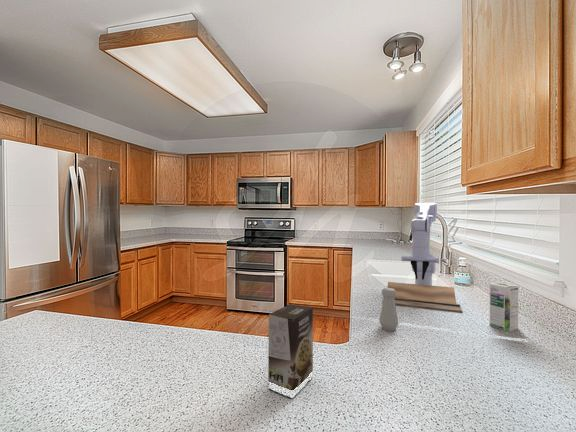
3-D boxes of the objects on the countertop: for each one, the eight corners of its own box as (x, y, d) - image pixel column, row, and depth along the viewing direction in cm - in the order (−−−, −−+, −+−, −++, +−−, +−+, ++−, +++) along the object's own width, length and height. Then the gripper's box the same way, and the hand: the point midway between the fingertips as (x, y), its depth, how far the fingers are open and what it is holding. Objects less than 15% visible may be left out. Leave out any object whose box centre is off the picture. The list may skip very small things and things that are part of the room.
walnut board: (383, 301, 123) (383, 296, 123) (459, 309, 112) (459, 304, 112) (382, 305, 117) (382, 300, 117) (462, 314, 106) (462, 309, 106)
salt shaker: (378, 330, 92) (378, 289, 92) (379, 324, 97) (379, 285, 97) (398, 333, 90) (398, 291, 90) (398, 326, 95) (398, 287, 95)
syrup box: (488, 327, 94) (488, 283, 94) (499, 324, 97) (499, 281, 97) (508, 334, 89) (508, 287, 89) (519, 331, 92) (519, 285, 91)
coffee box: (293, 400, 57) (293, 319, 57) (267, 390, 61) (267, 313, 61) (314, 378, 65) (314, 307, 65) (289, 370, 69) (289, 302, 69)
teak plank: (388, 284, 131) (387, 281, 131) (453, 290, 121) (453, 287, 120) (386, 300, 123) (386, 298, 123) (456, 308, 113) (456, 305, 112)
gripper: (401, 247, 122) (401, 279, 123) (439, 248, 117) (439, 282, 117) (401, 245, 129) (401, 276, 129) (438, 247, 123) (438, 278, 123)
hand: (419, 278), depth 123 cm, fingers closed
